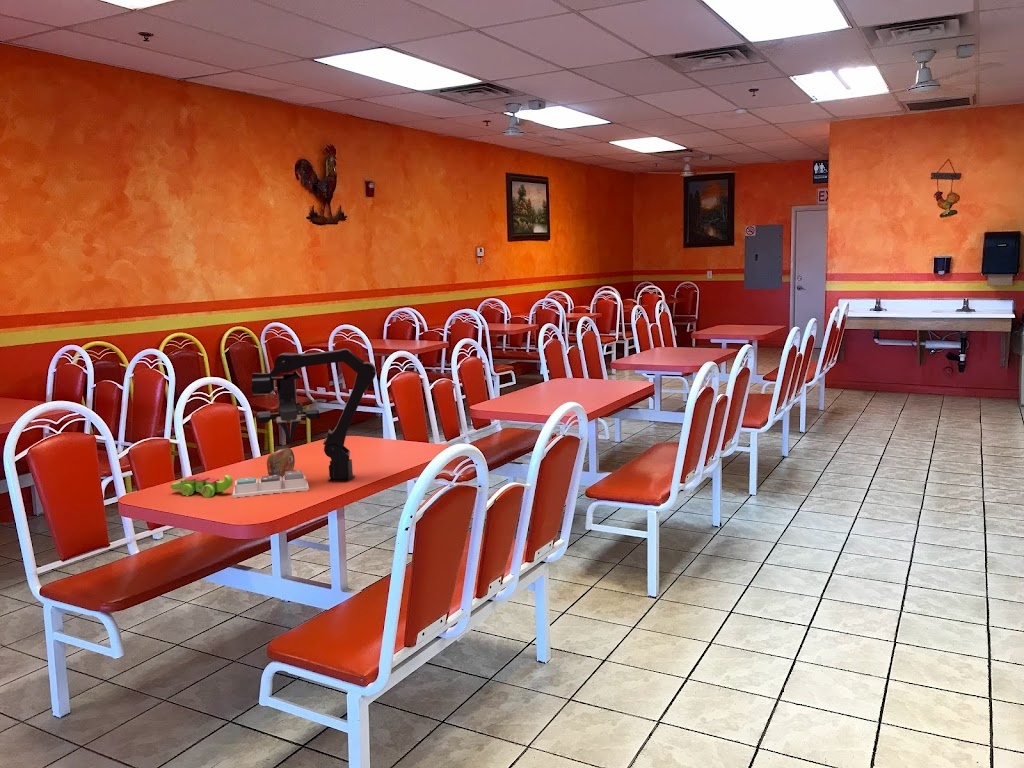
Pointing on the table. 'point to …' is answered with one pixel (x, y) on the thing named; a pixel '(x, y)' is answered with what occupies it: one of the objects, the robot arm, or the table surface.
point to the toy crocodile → (202, 485)
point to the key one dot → (246, 480)
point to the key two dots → (293, 475)
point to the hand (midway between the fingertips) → (290, 442)
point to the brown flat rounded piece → (280, 462)
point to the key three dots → (270, 478)
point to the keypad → (270, 487)
